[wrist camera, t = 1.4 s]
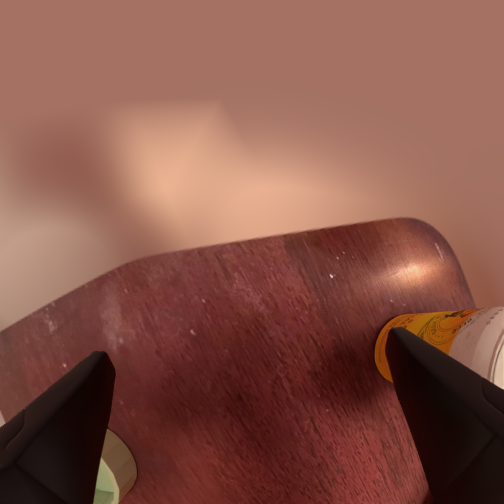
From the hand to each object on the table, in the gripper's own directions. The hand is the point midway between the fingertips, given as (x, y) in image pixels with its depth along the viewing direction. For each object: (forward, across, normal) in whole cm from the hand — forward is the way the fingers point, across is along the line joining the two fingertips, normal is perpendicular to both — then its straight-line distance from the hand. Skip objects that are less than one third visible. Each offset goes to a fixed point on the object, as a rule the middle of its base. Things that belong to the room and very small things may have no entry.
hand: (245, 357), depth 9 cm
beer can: (+11, -12, +12) cm, 21 cm away
